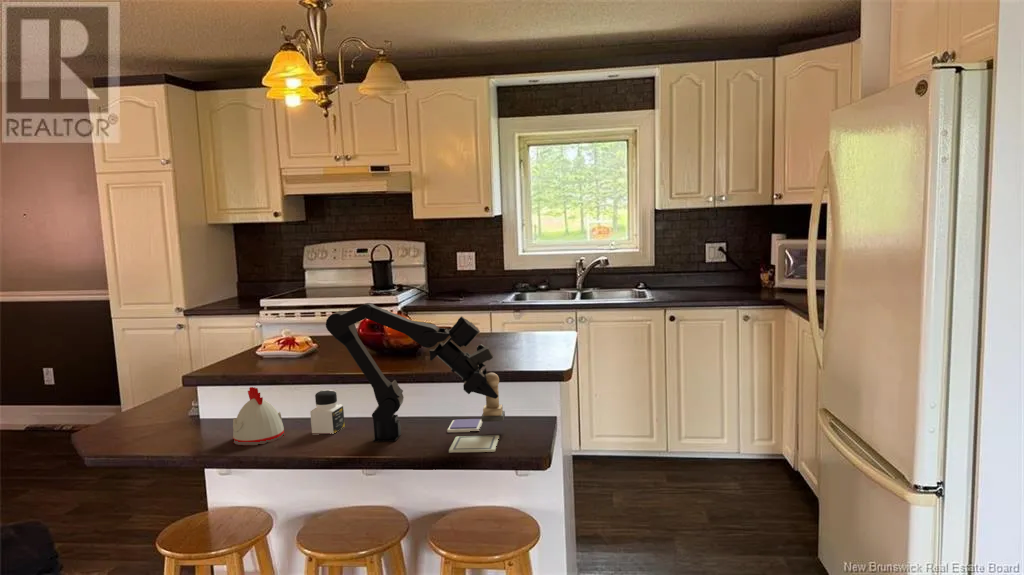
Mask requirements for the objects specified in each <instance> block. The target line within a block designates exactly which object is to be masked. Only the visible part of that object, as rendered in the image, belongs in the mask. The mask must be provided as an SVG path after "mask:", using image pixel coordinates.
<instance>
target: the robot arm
mask: <svg viewBox="0 0 1024 575" xmlns="http://www.w3.org/2000/svg"><path fill="white" fill-rule="evenodd" d="M363 320H369V321H371V322H375V323H376V324H379V325H382V326H385V327H387V328H390V329H392V330H394V331H396V332H399V333H402V334H405V335H406V336H408V337H409V338H410V339H411V340H412V341H413V342H415V343H417V344H418V345H421V347H424V348H427V349H428V348H429V351H428V353H429V361H433V360H434V359H435V358H436V357H437V358H438V359H440V360H441V361H442V362H443V363H444V364H445V365H446V366H448V367H449V369H450V371H451V373H455V374H456V375H458V376H459V377H460V378H461V380H462V382H463V386H462V387H463V391H464V392H466V393H467V394H468V395H469V394H470V395H471V393H475V394H479V395H483V396H485V397H486V396H488V397H492V398H495V399H496V398H497V397H498V395H497V393H496V392H495V391H494V390H493V388H492V387H491V386H490V385H489V384H488V382H487V381H486V374H488V372H487V371H488V370H487V367H486V365H487V363H486V362H487V361H490V360H493V359H494V357H493V356H494V355H493V352H492V351H491V348H490V347H489V345H486V346H485V345H483V344H482V343H481V344H479V345H477V346H476V351H473V353H471V354H470V353H469V352H466V351H465V352H464V351H463V350H462V349H461V348H463V347H465V348H466V347H468V346H469V345H470V344H471V342H473V340H474V339H475V338H476V337H477V336H478V335H479V334H480V332H481V331H480V329H479V328H478V327H477V326H476V325H475V324H474V323H473V322H472V321H469V320H468V319H466V318H464V317H463V316H462V315H461V316H460V317H459V318H458V320H457V321H456V322H455V323H454V324H453V326H452V327H451V328H442V327H438V325H436V324H433V323H429V322H425V321H417V320H412V319H409V318H406V317H404V316H401V315H399V314H396V313H394V312H392V311H389V310H387V309H385V308H381V307H379V306H377V305H375V304H373V303H372V302H365V303H363V304H362V305H360V306H357V307H355V308H352V309H349V310H348V311H344V310H339V311H336V312H334V313H332V314H330V315H329V316H328V317H327V318H326V322H325V327H326V330H327V331H328V333H330V334H331V335H332V337H333V338H334V339H336V341H338V342H339V343H341V344H342V345H343V346H344V347H345V348H346V350H347V351H348V353H349V354H350V356H351V357H352V359H353V360H354V362H355V363H356V365H357V366H358V368H359V370H360V371H361V372H362V374H363V375H364V377H365V378H366V380H367V381H368V383H369V384H370V385H371V387H372V390H373V394H374V397H375V401H376V402H377V407H376V408H375V410H374V411H373V412H372V414H371V417H372V419H373V420H372V421H373V434H374V435H373V436H374V437H373V438H372V442H373V443H374V442H375V443H377V442H379V443H380V442H383V443H385V442H396V441H397V440H398V439H399V437H400V436H401V434H402V432H401V430H402V429H401V420H399V415H398V414H396V413H397V412H398V411H399V409H400V408H401V406H402V404H403V402H404V398H405V397H404V395H403V392H404V390H403V389H402V388H401V387H400V386H399V384H398V382H397V380H396V379H394V380H393V381H390V380H389V379H388V378H386V376H385V375H384V372H382V370H381V368H380V367H379V366H378V364H377V363H376V361H375V360H374V358H373V357H372V355H371V354H370V352H369V350H368V349H367V348H366V346H365V345H364V343H363V342H362V340H361V339H360V337H359V334H358V331H357V330H358V329H357V326H356V324H357V323H359V322H361V321H363ZM448 337H449V338H448ZM444 341H445V342H444ZM443 342H444V343H443ZM436 345H437V346H436ZM435 346H436V347H435ZM433 347H435V348H434V349H433ZM459 347H460V348H459ZM431 348H432V349H431ZM482 368H484V369H482Z"/></svg>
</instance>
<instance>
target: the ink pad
mask: <svg viewBox="0 0 1024 575" xmlns="http://www.w3.org/2000/svg"><path fill="white" fill-rule="evenodd" d="M483 423H484V422H482V419H481V418H465V419H462V418H461V419H460V418H459V419H453V420H452V421H451V423H450V424H449V427H448V428H447V429H446V431H447V433H471V432H470V431H479V432H480V430H481V428H482V425H483ZM480 427H481V428H480ZM479 429H480V430H479Z"/></svg>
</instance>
